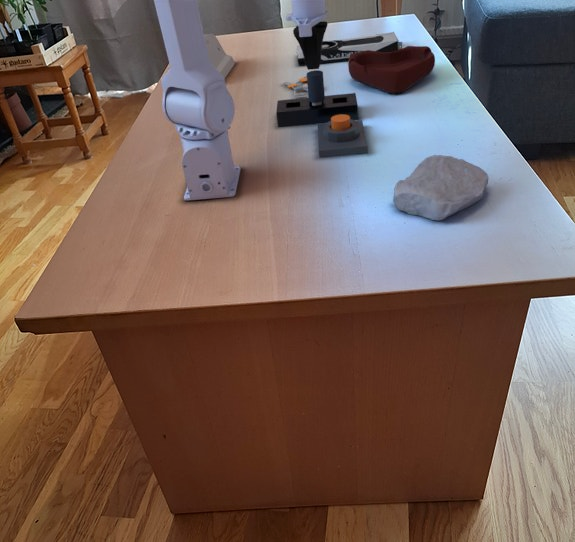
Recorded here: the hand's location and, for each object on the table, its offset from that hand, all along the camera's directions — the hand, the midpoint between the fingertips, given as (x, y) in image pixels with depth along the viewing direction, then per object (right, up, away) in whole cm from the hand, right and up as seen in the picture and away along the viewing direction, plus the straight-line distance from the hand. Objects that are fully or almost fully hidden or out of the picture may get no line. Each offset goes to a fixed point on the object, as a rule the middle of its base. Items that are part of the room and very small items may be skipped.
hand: (313, 67), depth 99 cm
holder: (+1, -7, +6) cm, 9 cm away
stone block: (+17, -27, -23) cm, 39 cm away
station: (+5, -14, -4) cm, 16 cm away
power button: (+4, -12, -6) cm, 14 cm away
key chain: (-1, +3, +20) cm, 20 cm away
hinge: (-23, +11, +34) cm, 43 cm away
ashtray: (+17, +3, +16) cm, 24 cm away
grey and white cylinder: (+1, -7, +6) cm, 9 cm away
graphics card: (+10, +16, +35) cm, 40 cm away
